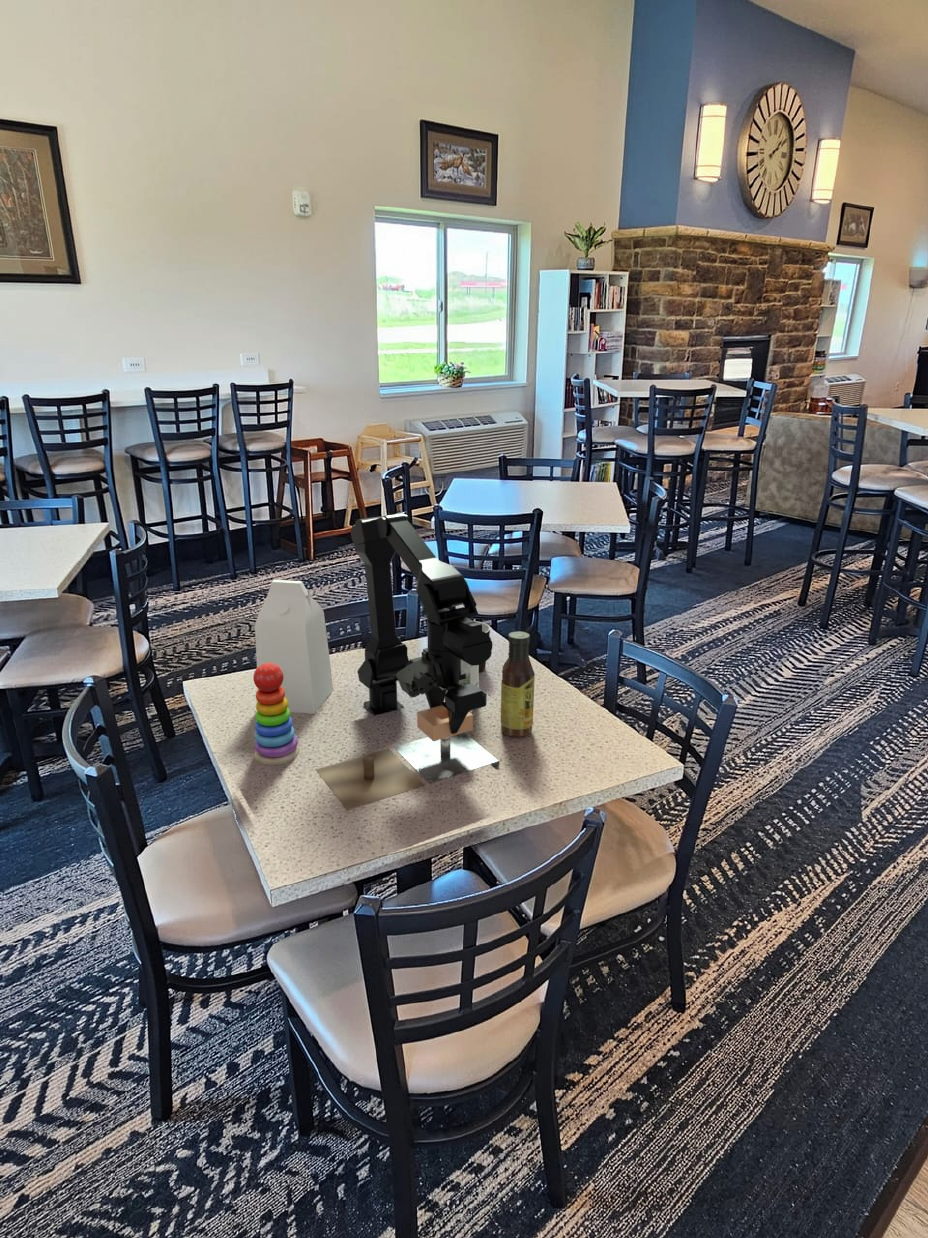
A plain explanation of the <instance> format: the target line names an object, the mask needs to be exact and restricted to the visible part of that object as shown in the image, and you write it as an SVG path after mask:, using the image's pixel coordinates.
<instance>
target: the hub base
mask: <svg viewBox="0 0 928 1238" xmlns="http://www.w3.org/2000/svg"><path fill="white" fill-rule="evenodd" d="M393 748H394V749H395V751H397V753H399V754H400V755H401V757H403V758H404V759H405V760H406V761H407V763H409V764H410V765H411V767H413V768H414V770H416V771H417V773H419V774H420V775H421V776H422V777H423V778H424V780H425V781H427V783H429V784H433V783H436V782H439V781H442V780H446V779H449V778H452V777H455V776H457V775H461V774H465V773H467V772H470V771H472V770H473V771H474V770H476V769H479V768H482V767H485V766H488V765H490V766H491V767H492V768H496V767H500V760H499V758H498V759H497V758H496V757H495V756H494V755H493V754H491V752H489V751H488V750H486V749H485V748H484V747H483V746H482V745H480V744H479V743H478V742H477V741H476V740H474V739H473V738H472V737H471V736H470V735H468V733H467V732H464V733H461V734H457V735H454V736H450V737H447V738H444V739H440V740H437V741H432V740H431V739H430V738H429V737H428V736H426V737H423V738H420V739H417V740H416V739H415V740H413V741H410V742H406V743H403V744H399V745H396V746H393Z"/></svg>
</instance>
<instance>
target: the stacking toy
mask: <svg viewBox="0 0 928 1238" xmlns="http://www.w3.org/2000/svg"><path fill="white" fill-rule="evenodd" d="M283 678H284V677H283V672H282V670H281V669H280V667H278V666H277V665H275V664H272V663H265V664H262V665H260V666H259V667H258V668H257V667H256V669H255V671H254V673H253V678H252V679H253V683H254V685H255V687H256V688H257V690H256V692H255V699H256V701H257V702H256V704H255V708H256V712H255V715H254V716H255V718H254V719H255V723H254V729H255V732H254V739H255V745H254V747H255V751H254V755H253V756H254V759H255V761H257V762H258V763H259V764H263V765H267V766H268V765H269V766H271V765H272V766H275V765H281V764H285V763H288V762H291V761H293V760H294V759H295V758H297V757H298V756H299V754H300V751H301V749H300V746H299V745H298V744H299V739H298V737H297V736H296V734H295V729H294V727H293V719H292V717H291V712H290V710H289V709H288V701H287V699H286V698H285V691H284V689H283V688H282V687H281V685H282V682H283Z"/></svg>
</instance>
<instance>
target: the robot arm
mask: <svg viewBox="0 0 928 1238" xmlns="http://www.w3.org/2000/svg"><path fill="white" fill-rule="evenodd" d="M350 528H351V529H350V537H351V540H352V542H353V548H354V551H355V553H356V554H357V555H358V557H359V558H360V559H361V560H362V562H363V563H364V569H365V581H366V588H367V591H366V592H367V601H368V602H367V603H368V610H369V611H368V612H369V621H370V622H369V623H370V631H371V632H370V633H371V634H370V635H371V636H370V638H369V639H368V642H367V644H366V646H365V647H364V661H363V662H362V664H361V665H360V667H359V668H358V669H357V676H358V681H359V682H360V683H362V685H364V686H365V687H366V688H368V696H369V697H368V699H369V700H367V701H364V702H363V706H364V707H365V708H366V709H367V710H368V711H369V712H371V714H372V715H373V716H379V715H383V714H386V713H390V712H395V711H397V710H401V709H405V707H404V705H403V704H402V703H401V702H399V700H398V685H397V684H399V686H400V688H401V690H402V692H405V693H406V694H407V695H408V696H409V697H410V698H416V697H418V696H420V695H425V698H426V700H427V703H428V706H429V709H430V708H434V707H437V706H441V705H442V706H444V707H445V708H446V709H447V710H448V718H449V726H450V731H451V734H455V733H457V732H458V730H459V728H460V726H461V725H462V723H463V721H464V719H465V717H466V716H467V714H468V712H469V711H471V710H473V711H474V710H477V709H481V708H485V707H486V706H487V703H488V702H487V701H488V700H487V697H488V696H487V693H486V692H484V691H483V690H482V689H481V688H478V687H476V686H475V685H473V684H472V683H471V684H467V685H463V686H462V685H461V684H460V683H459V680H463V679H466V673H464V672H463V671H461V660H463V661H465V662H466V663H468V664H469V665H473V666H475V665H480V664H482V663H483V662H484V661H486V660H487V658H488V657H489V655H490V654H491V651H493V646H494V645H493V641H492V639H491V635H488V634H487V633H485V632H484V631H482V624H480V623H478V622H479V621H476V622H474V621H475V620H472V619H471V618H474V617H475V618H476V617H478V616H479V612H478V610H477V605H478V604H477V602H476V600H475V598H474V596H473V594H472V592H471V590H470V586H469V584H468V581H467V580H466V579H465V577H464V576H463V574H461V572H460V571H458V569H456V568H455V567H454V566H453V565H451V564H449V563H446V562H443V561H441V560H440V559H438V558H437V557H436V555H435V554H434V552H433V550H431V548H430V547H429V546H428V545H427V543H426V542H425V541H424V540H423V538H422V537H421V536H420V534H419V533H418V532H417V530H416V529H415V528H414V527H413V525H412V524H411V519H410V517H409V515H407V514H403V513H402V512H401V513H394V514H386V515H382V516H376V517H368V518H359V519H356V520H355V523H354V524H353V525H352V526H351V527H350ZM396 553H397V555H398V556H399V558H400V559H401V560H402V562H403V563H404V564H405V566H406V567H407V569H408V570H409V571H410V573H411V574H412V575H413V577H414V578H415V580H416V588H415V589H416V590H415V591H416V594H417V596H418V597H419V599H420V602H421V604H422V605H423V607H424V608H423V609H422V610H421V614H422V615H423V616H425V617H427V619H426V622H427V623H426V625H427V626H426V627H427V628H426V630H427V636H426V637H427V647H425V648H423V649H422V651H421V656H420V657H415V658H411V659H409V656H408V646H407V644H405V643H403V642H402V641H401V639H400V638H399V637H398V635H397V628H396V617H395V616H396V615H395V614H396V613H395V604H394V593H393V591H394V589H393V582H392V581H393V579H392V569H391V562H392V560H393V558H394V556H395V554H396ZM462 605H463V606H462ZM458 606H459V607H458ZM460 606H462V607H460ZM453 607H458V608H453ZM450 608H453V609H450ZM491 655H492V654H491ZM487 661H488V660H487ZM487 661H486V662H487ZM446 690H447V691H448V692H447V693H446Z"/></svg>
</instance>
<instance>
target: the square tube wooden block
mask: <svg viewBox="0 0 928 1238" xmlns="http://www.w3.org/2000/svg"><path fill="white" fill-rule="evenodd" d="M416 722H417V723H416V724H417V728H418V729H419V730H420V731H421V732H422V733H423V734H425V736H426V737H429V738H430V739H431V740H432V741H437V740H440V739H444V738H447V737H450V736H454V735H457V734H461V733H464V732H465V733H467V732H471V731H473V730H474V714H473V713H470V712H468V714H467V716H466V717H465V719H464V721H463V723H462V725H461V726H460V728H459V730H458V732H457V733H455V734H451V731H450V726H449V718H448V710H447V709H446V708H445V707H444V706H442V705H441V706H437V707H434V708H430V707H429V708H426V709H423V710H419V711H416Z"/></svg>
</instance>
